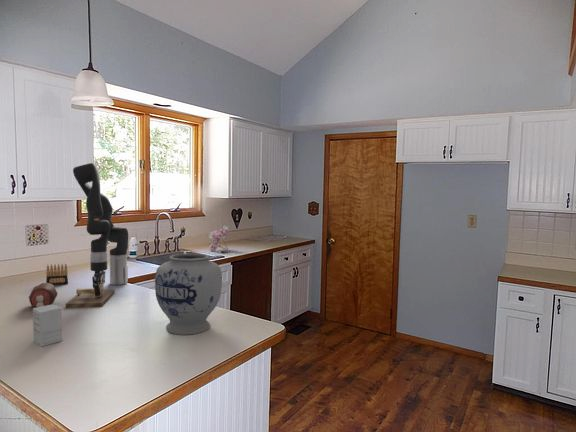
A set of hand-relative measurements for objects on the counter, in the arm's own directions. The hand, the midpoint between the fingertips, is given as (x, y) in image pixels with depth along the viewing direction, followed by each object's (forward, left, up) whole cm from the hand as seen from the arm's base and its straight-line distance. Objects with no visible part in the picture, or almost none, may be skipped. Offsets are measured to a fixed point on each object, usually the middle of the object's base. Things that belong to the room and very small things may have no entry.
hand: (99, 294), depth 195 cm
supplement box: (+4, +51, -4) cm, 52 cm away
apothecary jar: (-46, +42, -4) cm, 63 cm away
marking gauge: (+4, 0, -1) cm, 4 cm away
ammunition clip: (+32, -36, -4) cm, 48 cm away
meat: (+23, +7, -4) cm, 24 cm away
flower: (-59, -145, -4) cm, 156 cm away
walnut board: (+4, -2, -3) cm, 5 cm away
